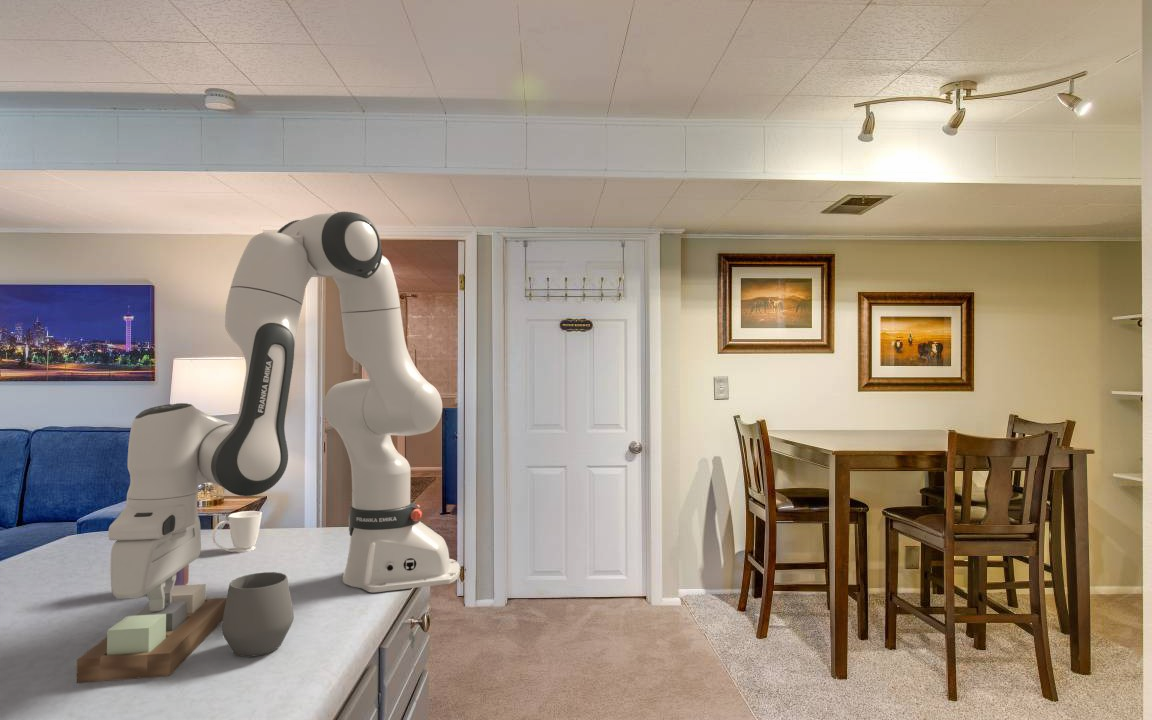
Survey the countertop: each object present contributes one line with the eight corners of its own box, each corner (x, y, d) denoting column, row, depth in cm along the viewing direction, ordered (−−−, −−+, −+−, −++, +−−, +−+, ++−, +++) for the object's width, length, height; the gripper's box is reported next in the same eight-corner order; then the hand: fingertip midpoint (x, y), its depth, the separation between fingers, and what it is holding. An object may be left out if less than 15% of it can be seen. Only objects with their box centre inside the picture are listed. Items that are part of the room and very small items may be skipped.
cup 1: (265, 550, 143) (266, 514, 144) (215, 558, 137) (216, 521, 137) (257, 543, 149) (258, 509, 149) (209, 551, 142) (209, 515, 142)
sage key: (165, 645, 90) (166, 613, 90) (148, 660, 85) (148, 627, 85) (126, 647, 89) (127, 616, 89) (106, 663, 84) (107, 630, 84)
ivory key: (205, 611, 104) (205, 584, 104) (192, 623, 99) (192, 594, 99) (171, 613, 103) (172, 585, 103) (156, 625, 98) (157, 596, 98)
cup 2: (217, 668, 87) (218, 594, 87) (224, 641, 95) (225, 574, 95) (293, 656, 90) (294, 585, 90) (293, 631, 99) (294, 567, 99)
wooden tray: (227, 615, 105) (227, 597, 105) (169, 675, 84) (169, 653, 84) (153, 620, 103) (154, 601, 103) (76, 682, 82) (76, 659, 82)
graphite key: (186, 630, 97) (187, 601, 97) (171, 643, 92) (172, 613, 92) (150, 632, 96) (151, 602, 96) (133, 646, 91) (134, 615, 91)
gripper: (170, 500, 104) (169, 585, 103) (100, 531, 84) (98, 637, 83) (212, 499, 105) (211, 583, 104) (153, 529, 85) (151, 634, 84)
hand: (160, 608), depth 94 cm, fingers closed, pressing on graphite key
